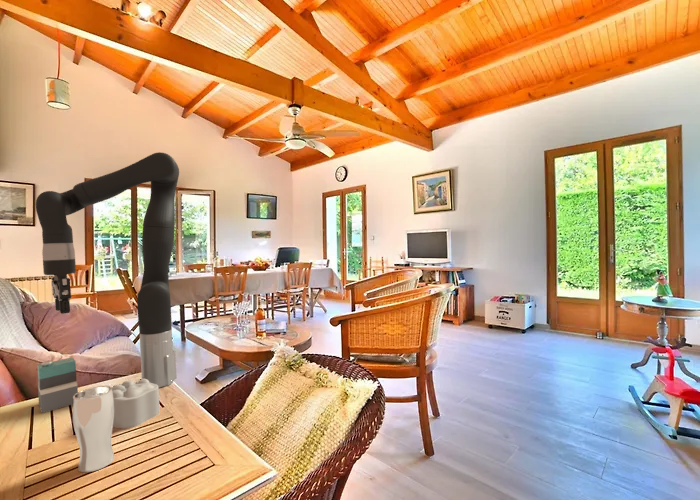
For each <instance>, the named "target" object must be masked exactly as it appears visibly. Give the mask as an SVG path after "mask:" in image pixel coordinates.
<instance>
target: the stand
mask: <svg viewBox="0 0 700 500" xmlns="http://www.w3.org/2000/svg"><path fill="white" fill-rule="evenodd" d="M37 391H38V393H37V395H38V406H39V409H40V412H41V414H45V413H48V412H50V411H54V410H57V409H60V408H65V407H68V406H73V396H74V395H75V394H76V393H78V391H79V390H78V381H75V382H71V383H67V384H63V385H59V386H55V387H51V388H47V389H43V390H40V388H39V386H38V385H37Z"/></svg>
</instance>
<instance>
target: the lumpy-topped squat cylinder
mask: <svg viewBox="0 0 700 500" xmlns="http://www.w3.org/2000/svg"><path fill="white" fill-rule="evenodd" d="M111 387H112V392H113V398H114V412H115V413H114V423H113V428H118V429H131V428H136V427H137V426H141V425H142V424H143V423H146V422H147V421H148V420H151V419H153V418H155V417H157V416H158V415H160V412H161V411H160V410H161V409H160V394H159V393H160V391H159V390H160V387H158V385H157V384H153V383H150V382H149V380H147V379H142V378H141V379H139V380H137V381H135V382H134V381H132V380H129V379H128V380H125V381H124V382H122V383H119V384H115V385H114V386H111ZM156 415H157V416H156Z"/></svg>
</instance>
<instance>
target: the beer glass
mask: <svg viewBox="0 0 700 500" xmlns="http://www.w3.org/2000/svg"><path fill="white" fill-rule="evenodd" d="M112 387H113V386H110V385H97V386H93V387H89V388H85V389H82V390H80V391H79V392H78V393H76V394H75V395H74V396H73V404H72V424H73V429H74V432H75V435H76V436H75V437H76V439H77V440H76V441H77V443H78V447H79V461H78V467H77V470H78V471H79V472H81V473H85V474H86V473H91V472H92V473H93V472H96V471H99V470H101V469H104V468H106V467H107V466H108V465H111V463H112V462H113V461H114V460H115V453H114V451H113V446H112V435H113V428H114V427H113V423H114V413H115V412H114V398H113V392H112Z"/></svg>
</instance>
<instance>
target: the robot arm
mask: <svg viewBox="0 0 700 500" xmlns="http://www.w3.org/2000/svg"><path fill="white" fill-rule="evenodd" d="M179 176H180V168H179V166H178V164H177V162H176V160H175V159H174V158H173V156H171V155H170V154H168V153H165V152H159V151H158V152H154V153H152V154H150V155H148V156H145V157H143V158H142V159H140V160H137V161H136V162H134V163H132V164H130V165H127V166H125V167H123V168H121V169H118V170H115V171H113V172H109V173H107V174H104V175H102V176H98V177H95V178H92V179H91V178H90V179H89V180H86V181H83V182H79V183H76V184H75V185H74V186H73V187H72V189H69V190H65V191H63V192H57V191H55V190H46V191H43V192H41V193H40V194H39V195H37V198H36V200H35V211H36V214H37V219H38V221H39V225H40V227H41V229H42V230H41V234H42V236H41V237H42V251H41V252H42V253H41V255H42V266H43V267H42V268H43V275H45V276H52V277H51V287H52V288H51V291H52V296H53V298H54V304H55V305H54V306H55V311H57V312H58V311H59V312H60V314H61V315H63V314H64V315H65V314H69V313H70V312H71V303H70V300H71V298H72V290H71V289H72V288H71V278H70V277H68V275H70V274H75V273H77V268H76V267H77V265H76V252H75V251H76V250H75V246H74V235H73V229H72V226H71V225H70V224H69V223H68V220H67V216H69V215H72V214H74V213H76V212H79V211H81V210H83V209H85V208H86V207H89V206H91V205H95V204H98V203H100V202H104V201H107V200H110V199H112V198H115V197H116V196H119V195H120V194H122V193H124V192H126V191H127V190H129V189H131V188H134V187H136V186H139V185H142V184H144V183H150V195H149V196H150V197H149V198H150V199H149V202H148V205H147V207H146V211H145V213H144V217H143V221H142V222H143V223H142V237H141V238H142V239H141V242H142V243H141V244H142V245H141V246H142V248H141V249H142V259H143V273H142V274H143V275H142V280H141V284H140V288H139V291H138V292H137V293H138V294H137V296H136V304H137V322H138V323H137V324H138V330H139V346H140V347H139V349H140V366H141V368H140V371H141V373H140V374H141V379H147V380H149V382H150V383H153V384H157V385H158V388H161V387H166V386H170V385H171V384H172V383H173V382H174V381H175V380H176V379H177V376H178V375H177V360H176V359H177V358H176V351H175V350H174V349H173V347H174V346H173V331H172V329H173V328H172V323H173V322H172V303H171V302H172V301H171V300H172V299H171V290H170V281H169V269H170V262H171V258H172V253H173V247H174V244H175V243H174V242H175V229H176V227H175V226H176V212H175V211H176V210H175V209H176V208H175V205H176V204H175V202H176V201H175V199H176V192H177V186H178V181H179ZM171 380H172V381H173V382H172V381H171Z"/></svg>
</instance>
